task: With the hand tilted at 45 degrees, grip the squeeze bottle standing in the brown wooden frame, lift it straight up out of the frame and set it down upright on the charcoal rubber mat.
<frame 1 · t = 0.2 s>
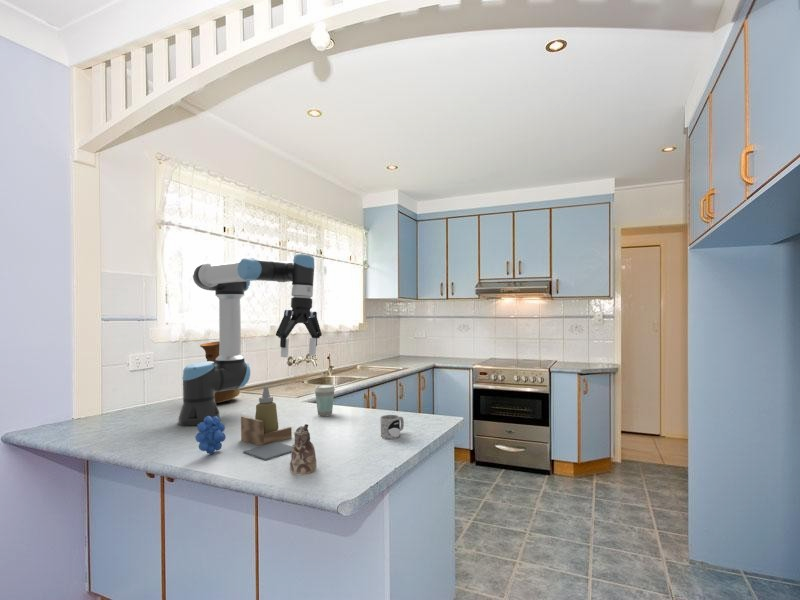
hand: (298, 356, 157), 28 cm above the countertop, tool pointing down, fingers open, 13 cm apart
figurine: (303, 470, 120), on the countertop
brown wooden frame: (266, 438, 150), on the countertop
rubber mat: (271, 451, 137), on the countertop
mug: (393, 435, 152), on the countertop
coffee cup: (324, 415, 184), on the countertop
ceramic pitcher: (218, 402, 214), on the countertop
grapes: (213, 454, 135), on the countertop
squeeze bottle: (266, 439, 150), on the countertop
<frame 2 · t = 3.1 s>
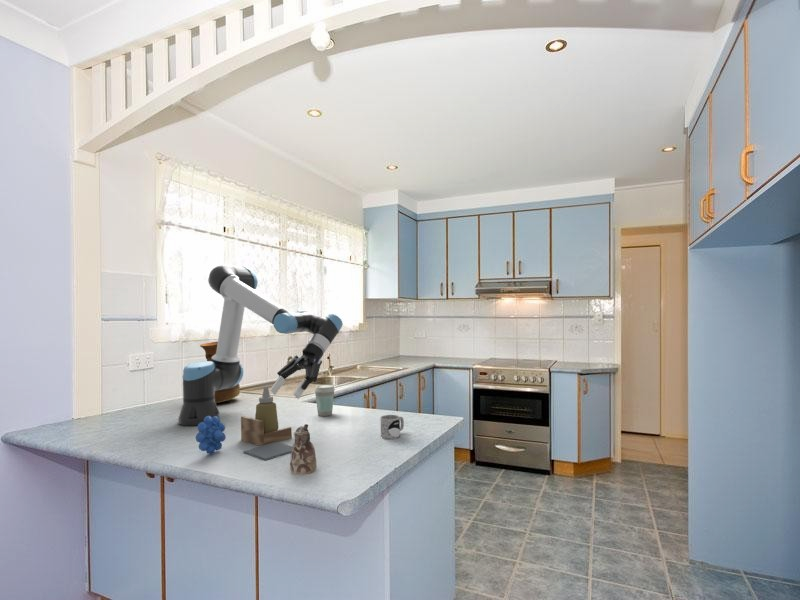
hand: (283, 394, 155), 14 cm above the countertop, tool tilted 45°, fingers open, 13 cm apart
nothing on the countertop moved.
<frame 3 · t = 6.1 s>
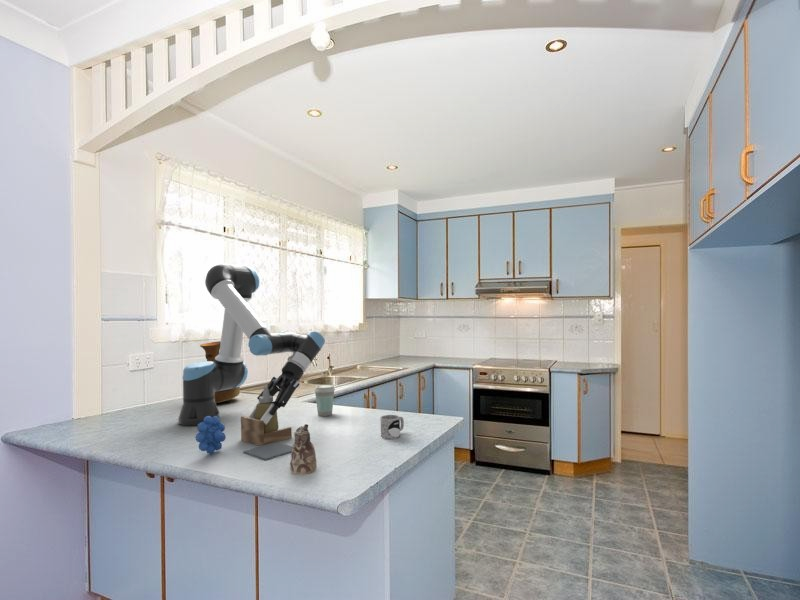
hand: (257, 420, 148), 7 cm above the countertop, tool tilted 45°, fingers closed on squeeze bottle, 6 cm apart
squeeze bottle: (266, 439, 150), on the countertop, touching gripper
everything else where it was.
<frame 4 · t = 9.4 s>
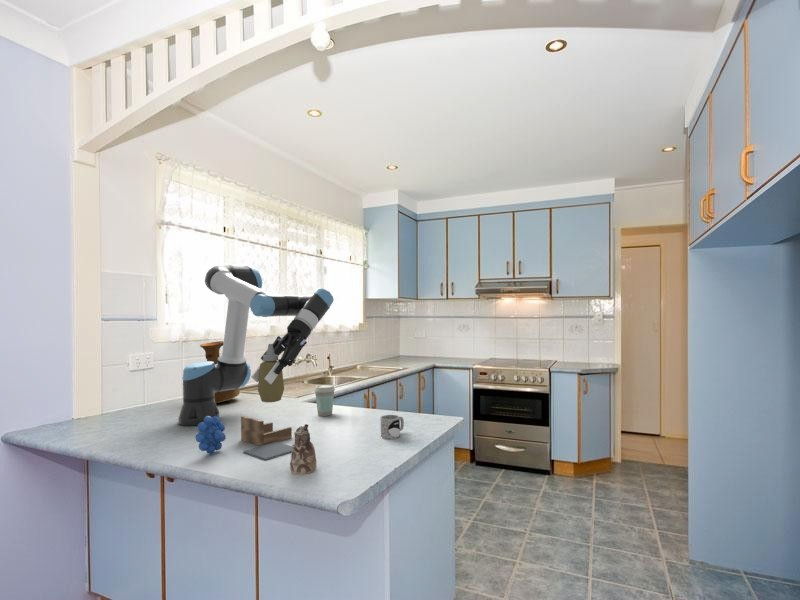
hand: (261, 380, 135), 23 cm above the countertop, tool tilted 45°, fingers closed on squeeze bottle, 6 cm apart
squeeze bottle: (271, 401, 138), point 15 cm above the countertop, touching gripper
everything else where it was.
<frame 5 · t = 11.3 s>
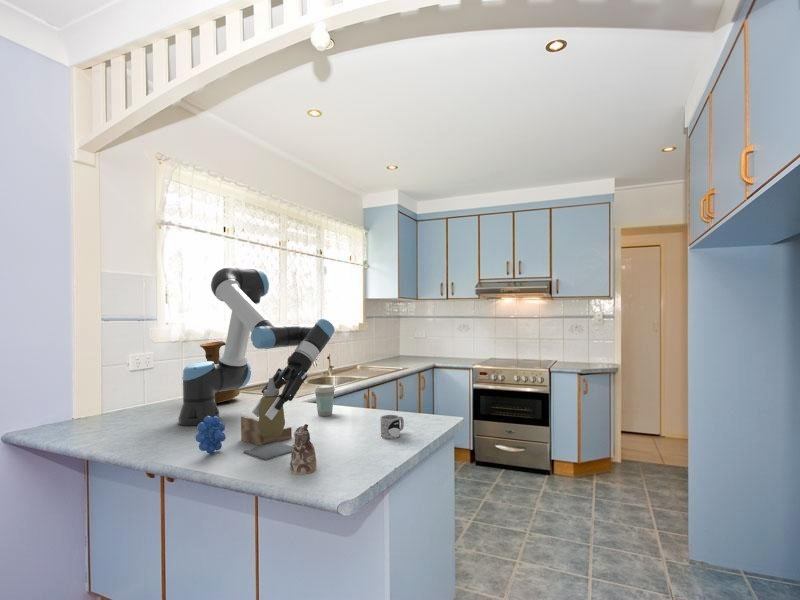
hand: (261, 415, 134), 12 cm above the countertop, tool tilted 45°, fingers closed on squeeze bottle, 6 cm apart
squeeze bottle: (272, 436, 137), point 5 cm above the countertop, touching gripper
everything else where it was.
when the fingers open (9 cm above the countertop, at t = 12.7 s): squeeze bottle drops 1 cm, resting on rubber mat.
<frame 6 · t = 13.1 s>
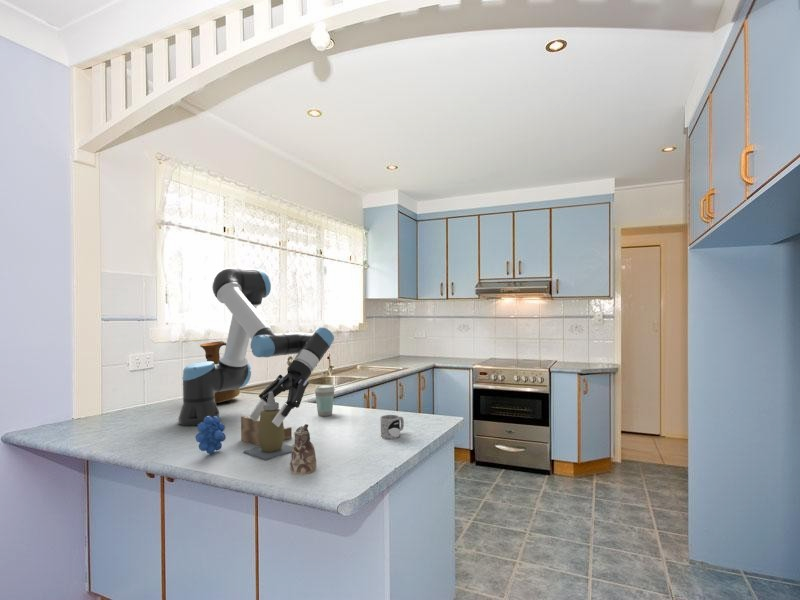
hand: (263, 421, 135), 10 cm above the countertop, tool tilted 45°, fingers open, 11 cm apart
squeeze bottle: (271, 450, 137), resting on rubber mat
everything else where it was.
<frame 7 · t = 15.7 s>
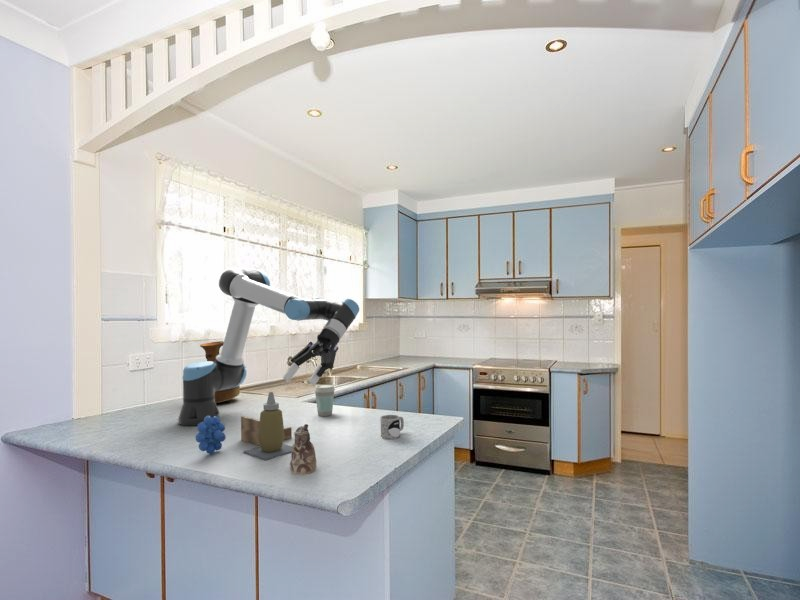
hand: (297, 381, 146), 20 cm above the countertop, tool tilted 45°, fingers open, 13 cm apart
nothing on the countertop moved.
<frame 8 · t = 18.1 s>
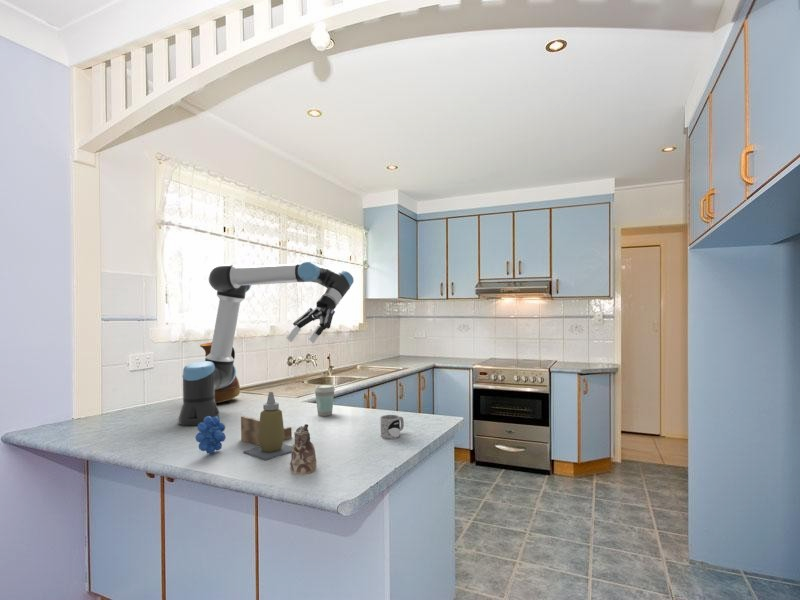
hand: (299, 340, 167), 33 cm above the countertop, tool tilted 45°, fingers open, 13 cm apart
nothing on the countertop moved.
at the end: squeeze bottle inside the target area on the rubber mat (0.1 cm from its centre), point 0.3 cm above the rubber mat's base; squeeze bottle tilted 0°; the gripper is holding nothing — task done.
